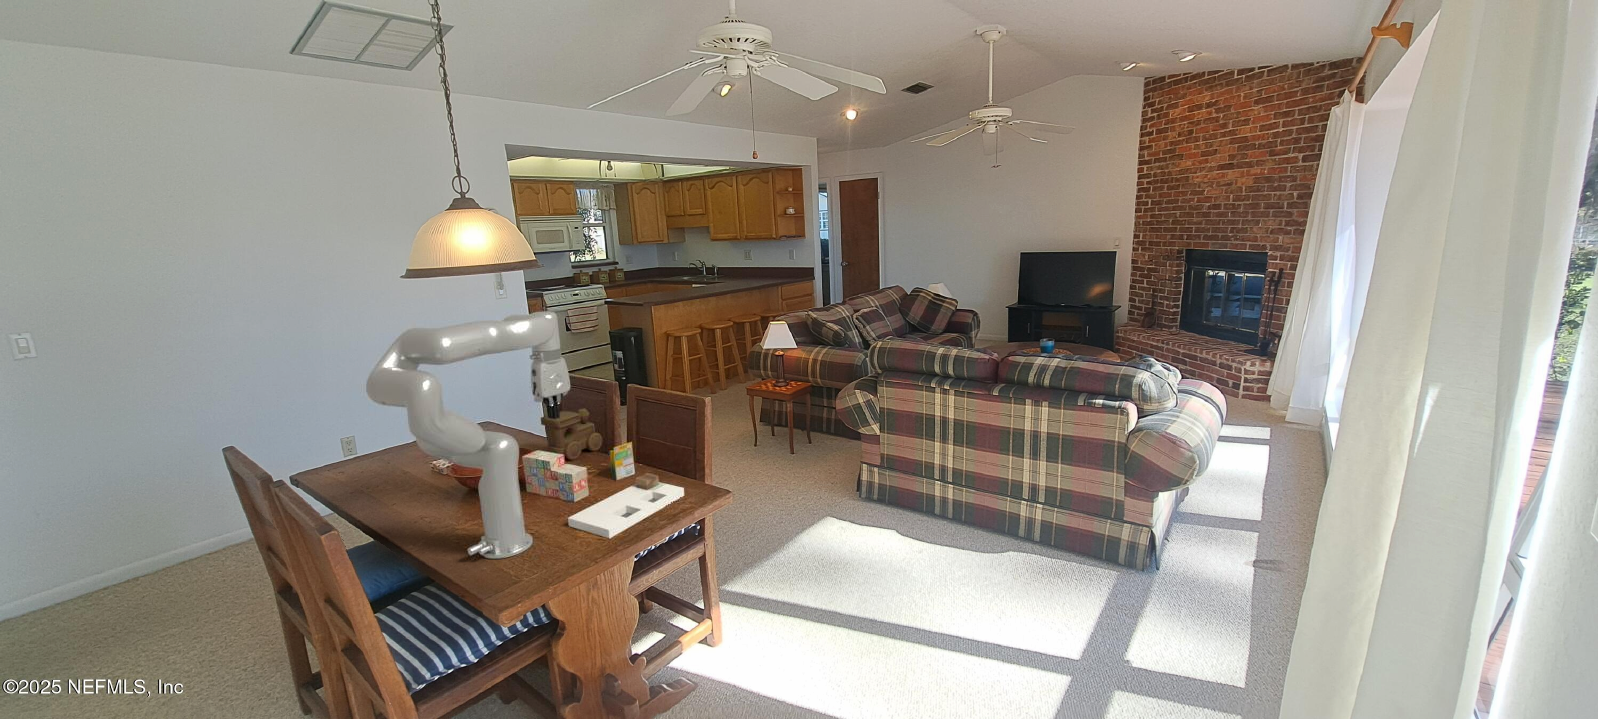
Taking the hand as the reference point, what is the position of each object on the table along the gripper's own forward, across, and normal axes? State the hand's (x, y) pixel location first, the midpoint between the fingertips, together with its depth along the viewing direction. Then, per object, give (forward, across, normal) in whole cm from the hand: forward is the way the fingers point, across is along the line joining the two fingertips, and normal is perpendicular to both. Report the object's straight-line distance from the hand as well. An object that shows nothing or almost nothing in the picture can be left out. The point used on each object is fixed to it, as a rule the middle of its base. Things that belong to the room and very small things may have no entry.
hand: (553, 417), depth 180 cm
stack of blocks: (+30, +8, +13) cm, 33 cm away
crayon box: (+29, +28, +4) cm, 41 cm away
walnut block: (+27, +21, -14) cm, 37 cm away
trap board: (+29, +10, -17) cm, 35 cm away
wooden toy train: (+29, +36, +37) cm, 59 cm away
